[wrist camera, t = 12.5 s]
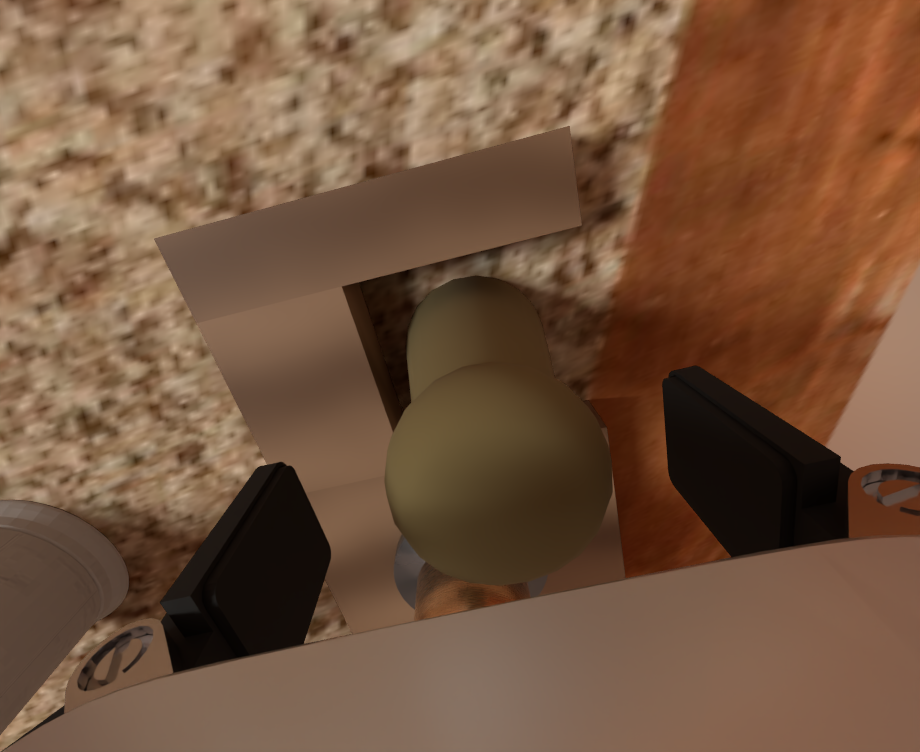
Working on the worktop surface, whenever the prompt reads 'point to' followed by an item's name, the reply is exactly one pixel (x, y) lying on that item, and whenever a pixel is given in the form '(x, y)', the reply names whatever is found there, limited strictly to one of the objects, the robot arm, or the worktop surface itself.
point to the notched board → (362, 336)
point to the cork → (492, 442)
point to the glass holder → (49, 594)
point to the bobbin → (449, 587)
